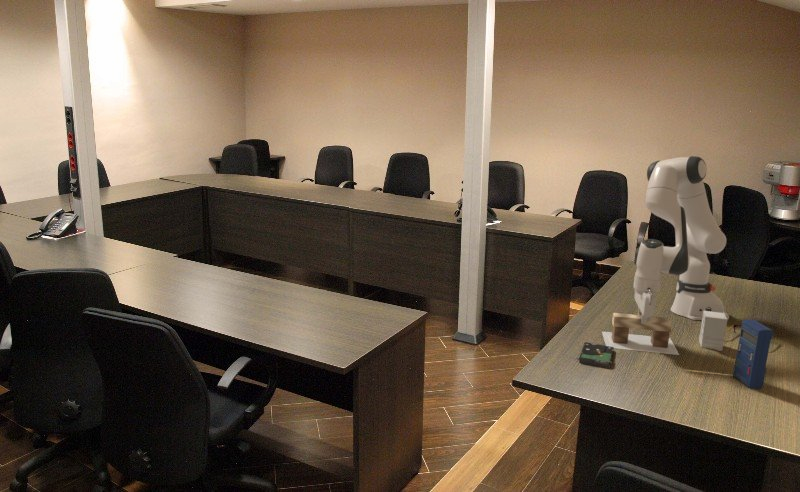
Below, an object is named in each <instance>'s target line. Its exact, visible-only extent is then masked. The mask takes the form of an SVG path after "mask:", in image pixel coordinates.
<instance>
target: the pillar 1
mask: <svg viewBox="0 0 800 492" xmlns="http://www.w3.org/2000/svg"><path fill="white" fill-rule="evenodd" d="M611 332H612V340H613V343H623V344H627V342H628V335H629V334H630V333H629V332H630V328H623V327H613V326H612V330H611Z"/></svg>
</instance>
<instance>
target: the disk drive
mask: <svg viewBox="0 0 800 492" xmlns="http://www.w3.org/2000/svg"><path fill="white" fill-rule="evenodd" d="M614 349H615V348H614V347H610V346H606V345H605V344H604V345H603V344H600V343H599V344H597V343H596V344H593V343H592V342H586V341H585V342H584V344H583V345H582V349H581V352H580V354H579V357H578V363H580V364H585V365H590V366H595V367H601V368H606V369H610V368H611V363H612V358H613V354H614Z"/></svg>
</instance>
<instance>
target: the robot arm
mask: <svg viewBox="0 0 800 492" xmlns="http://www.w3.org/2000/svg"><path fill="white" fill-rule="evenodd" d="M706 175H707V164H706V162H705V160H704V159H703V158H702V157H700V156H695V155H693V156H680V157H679V156H678V157H673V158H669V159H663V160H656V161H654V162H652V163H650V164H649V166H648V167H647V170H646V178H647V181H648V183H647V184H648V185H647V187H646V193H645V206H646V208H647V209H648V210H649V212H650V213H651V214H653V215H654V216H656V217H658V218H661V220H665V221H666V222H668V223H670V224H671V225H672V226H673V227H674V234H675V235H674V237H675V246H667V245H666V246H664V243H663V242H662V241H661V240H658V239H656V238H655V239H653V238H648V239H647V238H646V239H643V240H642V241H641V242H640V245H639V246H638V247H637V248H636V249H635V250H634V251H635V253H634V261H633V264H634V265H635V266H636V270H635V273H634V278H633V285H632V286H633V289H634V295H633V297H634V301H635V302H636V305H637V312H638V313H637V315H642V318H641V323H642V324H646V323H647V319H648V317H653V316H654V317H655V312H656V311H655V310H656V296H655V295H656V293H658V292H659V291H660V288H661V281H662V275H661V273H666V274H669V275H673V276H679V277H678V279H677V282H676V288H675V289H676V294H675V297H674V301H673V303H672V304H671V307H670V311H671V312H672V313H674V314H675V315H678V316H681V317H685V318H688V319H689V320H694V321H702V317H703V311H711V312H719V313H724V314H725V316H726V318H727V322H728V321H729V319H730V316H729V314H728V313H727V312H726V311H725V309H724V303H723V301H722V300H721V299H720V298H719V297H718V296H717V295H716V294H715V293H714V292H715V291H716V288H717V287H715V285H713V284H712V283H710V282H709V276H710V271H711V270H710V269H711V263H710V261H709V258H708V255H707V254H711V255H712V254H715V255H716V254H719V253H721V252H722V251H723V250H724V249H725V247H726V245H727V236H726V235H725V233H724V232H723V231H722V230H721V228H720V227H719V225H718V223H717V221H716V219H715V217H714V216H713V213H712V211H711V209H710V204H709V201H708V196H707V191H706V188H705V183H704V179H705V178H706Z"/></svg>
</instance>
